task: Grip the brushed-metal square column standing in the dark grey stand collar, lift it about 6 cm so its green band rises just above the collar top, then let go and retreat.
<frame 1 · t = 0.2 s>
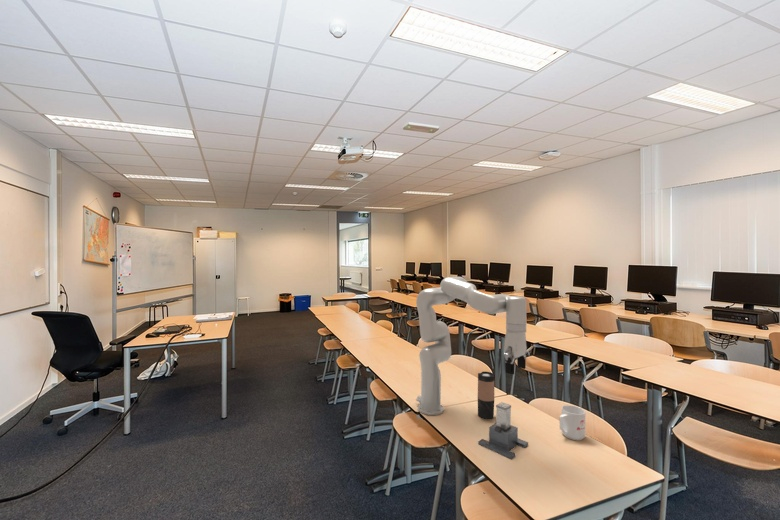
hand: (515, 370, 134), 30 cm above the table, fingers open, 9 cm apart
mug: (570, 437, 143), on the table
column: (503, 424, 136), point 8 cm above the table, slide at 0.0 cm
stand: (503, 444, 136), on the table
travel mug: (485, 416, 161), on the table
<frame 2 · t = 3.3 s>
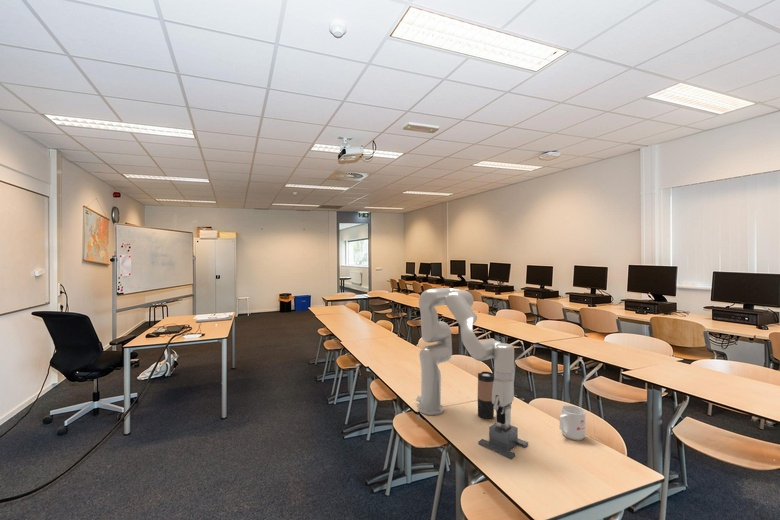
hand: (503, 420, 136), 10 cm above the table, fingers closed on column, 4 cm apart
column: (503, 424, 136), point 8 cm above the table, slide at 0.0 cm, touching gripper
everything else where it was.
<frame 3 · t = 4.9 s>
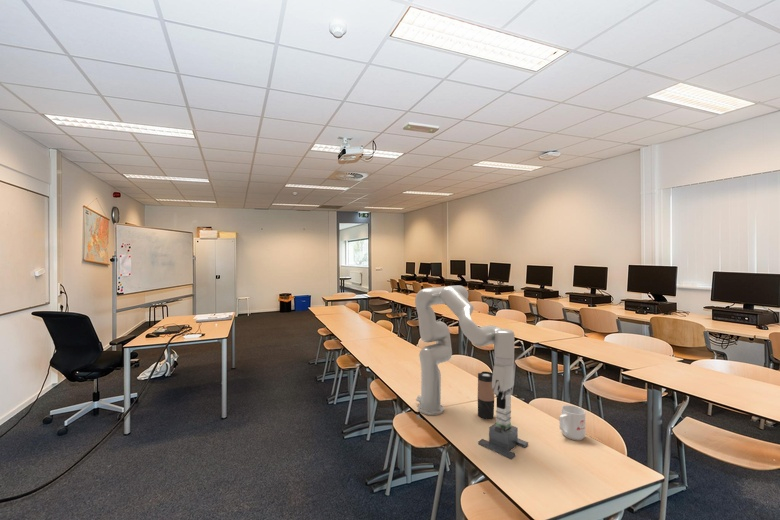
hand: (503, 405, 136), 16 cm above the table, fingers closed on column, 4 cm apart
column: (503, 410, 136), point 14 cm above the table, slide at 5.9 cm, touching gripper
everything else where it was.
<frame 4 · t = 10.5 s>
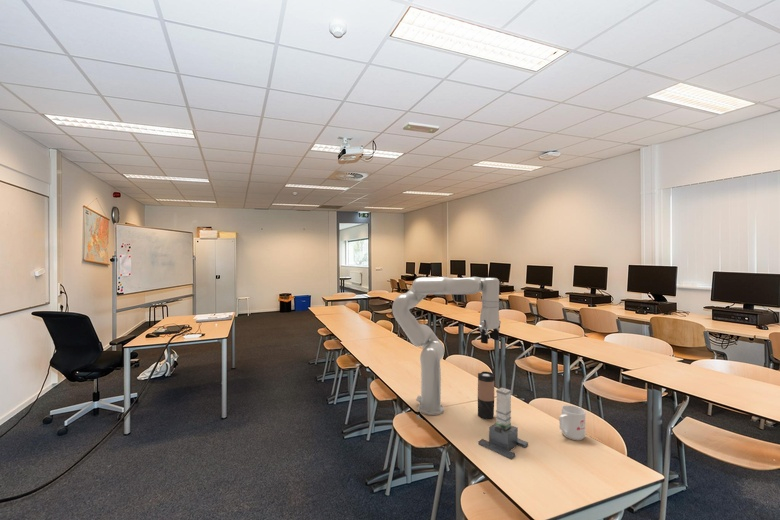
hand: (490, 341, 157), 36 cm above the table, fingers open, 9 cm apart
column: (503, 410, 136), point 14 cm above the table, slide at 6.0 cm
everything else where it was.
at the end: column slide at 6.0 cm; the gripper is holding nothing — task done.
